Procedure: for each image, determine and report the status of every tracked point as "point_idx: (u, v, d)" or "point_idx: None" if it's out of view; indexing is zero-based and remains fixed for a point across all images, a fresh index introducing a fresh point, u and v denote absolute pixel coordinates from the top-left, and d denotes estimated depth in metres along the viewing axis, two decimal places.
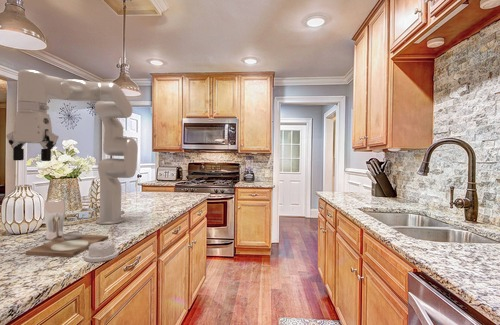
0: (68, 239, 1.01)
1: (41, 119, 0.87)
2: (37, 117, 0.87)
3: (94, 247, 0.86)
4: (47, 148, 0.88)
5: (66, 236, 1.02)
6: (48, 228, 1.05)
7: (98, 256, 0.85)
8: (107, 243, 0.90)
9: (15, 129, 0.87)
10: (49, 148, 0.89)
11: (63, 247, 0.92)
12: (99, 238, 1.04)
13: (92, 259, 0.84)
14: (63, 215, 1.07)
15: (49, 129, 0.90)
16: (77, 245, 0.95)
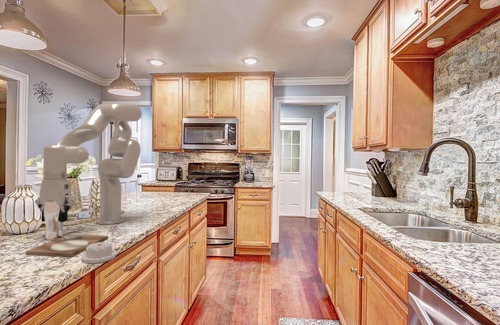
0: (68, 239, 1.01)
1: (62, 186, 1.05)
2: (59, 185, 1.04)
3: (91, 248, 0.85)
4: (65, 211, 1.06)
5: (66, 236, 1.02)
6: (48, 228, 1.05)
7: (95, 257, 0.84)
8: (105, 244, 0.89)
9: (41, 194, 1.05)
10: (66, 211, 1.07)
11: (63, 247, 0.92)
12: (99, 238, 1.04)
13: (89, 260, 0.83)
14: None
15: (69, 193, 1.08)
16: (77, 245, 0.95)
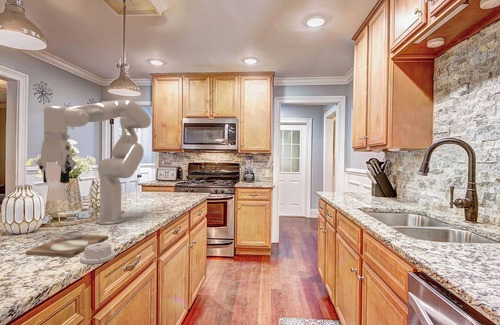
0: (68, 239, 1.01)
1: (63, 146, 1.05)
2: (60, 145, 1.04)
3: (90, 249, 0.85)
4: (66, 172, 1.06)
5: (66, 236, 1.02)
6: (50, 189, 1.05)
7: (94, 258, 0.84)
8: (103, 244, 0.88)
9: (42, 155, 1.05)
10: (67, 172, 1.07)
11: (63, 247, 0.92)
12: (99, 238, 1.04)
13: (88, 260, 0.83)
14: None
15: (70, 154, 1.08)
16: (77, 245, 0.95)
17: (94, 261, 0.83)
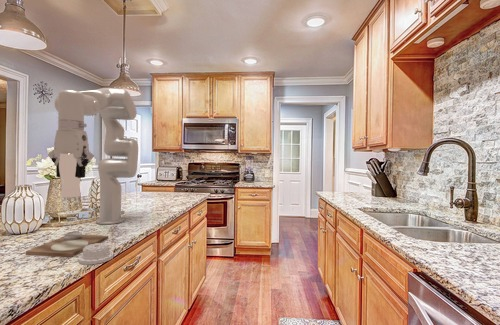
0: (68, 239, 1.01)
1: (80, 136, 0.93)
2: (76, 135, 0.92)
3: (88, 249, 0.84)
4: (82, 165, 0.94)
5: (66, 236, 1.02)
6: (63, 184, 0.92)
7: (92, 258, 0.83)
8: (102, 245, 0.88)
9: (56, 146, 0.93)
10: (84, 166, 0.94)
11: (63, 247, 0.92)
12: (99, 238, 1.04)
13: (86, 261, 0.82)
14: None
15: (86, 145, 0.95)
16: (77, 245, 0.95)
17: (92, 262, 0.82)
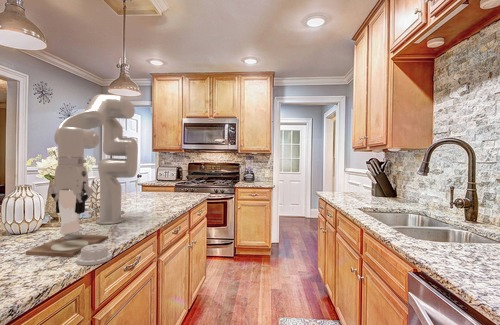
0: (68, 239, 1.01)
1: (80, 173, 0.93)
2: (76, 171, 0.92)
3: (87, 250, 0.83)
4: (82, 201, 0.94)
5: (66, 236, 1.02)
6: (63, 220, 0.92)
7: (91, 259, 0.83)
8: (100, 246, 0.87)
9: (55, 182, 0.93)
10: (83, 201, 0.94)
11: (63, 247, 0.92)
12: (99, 238, 1.04)
13: (85, 262, 0.82)
14: None
15: (86, 181, 0.95)
16: (77, 245, 0.95)
17: (91, 262, 0.82)
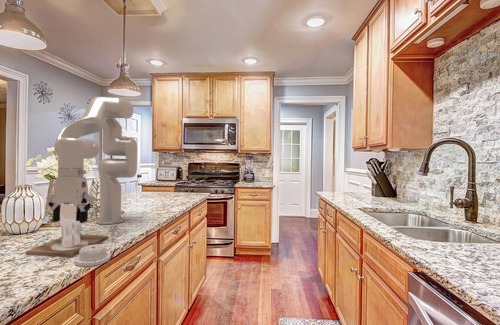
0: None
1: (79, 184, 0.93)
2: (76, 182, 0.92)
3: (85, 251, 0.83)
4: (85, 210, 0.94)
5: None
6: (64, 234, 0.93)
7: (89, 260, 0.82)
8: (99, 246, 0.86)
9: (55, 193, 0.93)
10: (86, 210, 0.94)
11: (63, 247, 0.92)
12: (99, 238, 1.04)
13: (83, 263, 0.81)
14: None
15: (86, 191, 0.96)
16: None
17: (89, 263, 0.81)
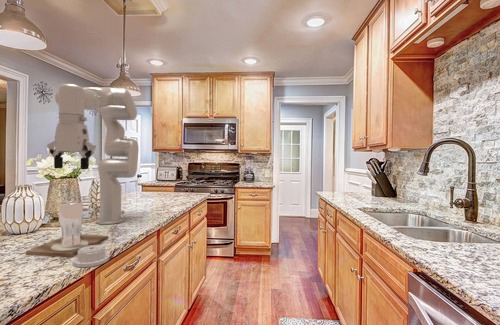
0: None
1: (80, 130, 0.93)
2: (77, 128, 0.93)
3: (83, 252, 0.82)
4: (86, 157, 0.94)
5: None
6: (64, 234, 0.93)
7: (88, 261, 0.81)
8: (97, 247, 0.86)
9: (56, 139, 0.93)
10: (87, 157, 0.95)
11: (63, 247, 0.92)
12: (99, 238, 1.04)
13: (82, 264, 0.80)
14: (80, 219, 0.95)
15: (87, 139, 0.96)
16: None
17: (88, 264, 0.80)
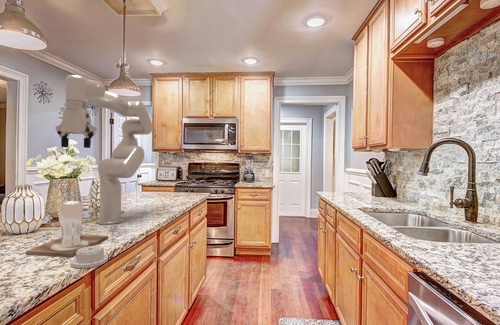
0: None
1: (84, 114, 1.10)
2: (81, 112, 1.10)
3: (82, 252, 0.81)
4: (88, 137, 1.11)
5: None
6: (64, 234, 0.93)
7: (87, 262, 0.81)
8: (96, 248, 0.85)
9: (63, 122, 1.10)
10: (89, 137, 1.12)
11: (63, 247, 0.92)
12: (99, 238, 1.04)
13: (81, 265, 0.79)
14: (80, 219, 0.95)
15: (89, 122, 1.13)
16: None
17: (87, 265, 0.80)
